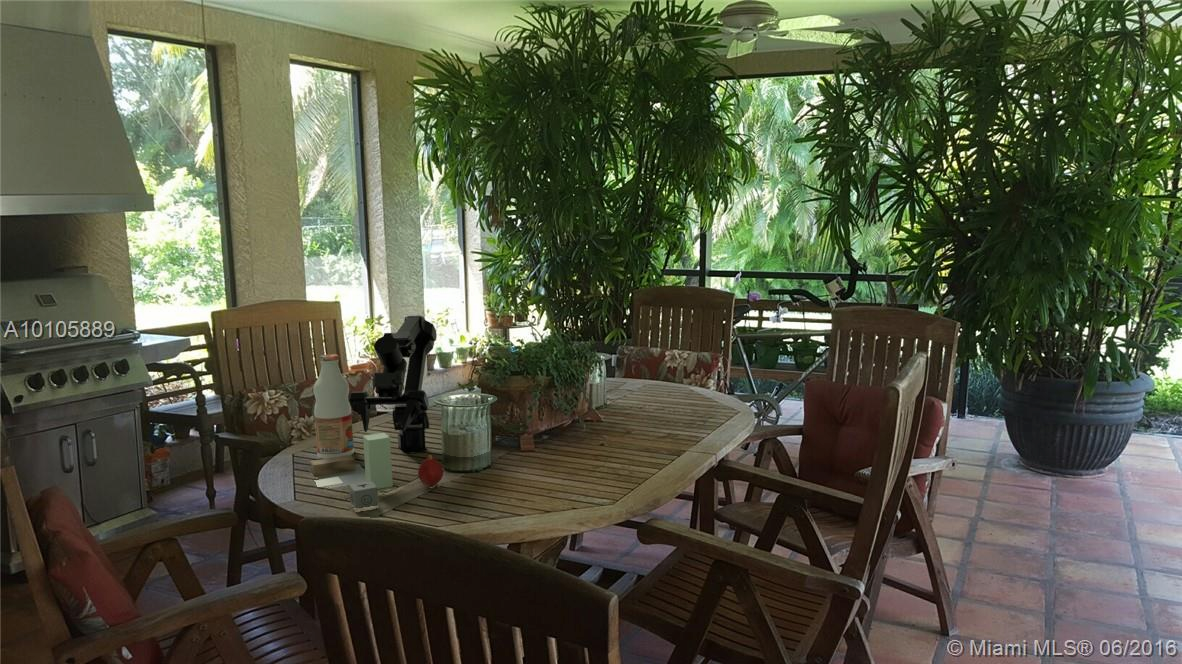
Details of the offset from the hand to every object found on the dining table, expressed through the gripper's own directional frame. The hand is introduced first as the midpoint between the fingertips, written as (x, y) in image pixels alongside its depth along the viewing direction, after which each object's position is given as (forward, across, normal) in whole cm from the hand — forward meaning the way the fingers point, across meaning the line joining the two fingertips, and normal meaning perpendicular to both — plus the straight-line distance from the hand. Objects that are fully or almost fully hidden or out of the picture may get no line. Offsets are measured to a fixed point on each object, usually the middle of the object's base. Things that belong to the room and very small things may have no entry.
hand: (384, 430), depth 200 cm
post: (+14, 0, +4) cm, 14 cm away
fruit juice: (-6, -19, +24) cm, 31 cm away
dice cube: (+22, 0, -4) cm, 22 cm away
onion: (+13, +12, +5) cm, 18 cm away
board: (+9, -12, +9) cm, 17 cm away
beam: (+5, -15, +11) cm, 19 cm away
